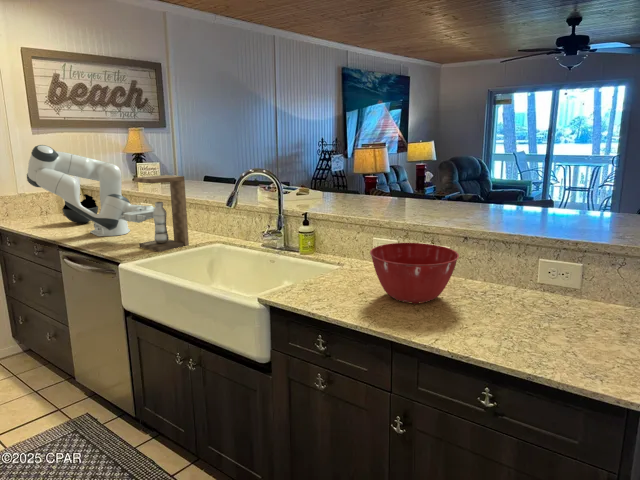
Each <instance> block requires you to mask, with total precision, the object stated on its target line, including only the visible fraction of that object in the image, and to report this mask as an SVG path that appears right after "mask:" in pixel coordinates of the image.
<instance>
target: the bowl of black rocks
mask: <svg viewBox="0 0 640 480" xmlns="http://www.w3.org/2000/svg"><path fill="white" fill-rule="evenodd" d="M81 195H82V193H80V196H81ZM83 197H84V198H85V199H82V200H80V203H81V205H82V206H83V207H85V208H87V209H88V210H90V211H92V212H93V213H95V214H98V213H99V206H98V205H97V203H96V200H95V199H94V197H93V196H91V195H88V194H86V193H84V194H83ZM62 213H63V214H64V216H65V217H66V218H67V220H69V221H71V222H72V223H74V224H86V223H90V222H92V221H91V220H89V219H87V218H86V217H84V216H82V215H80V214H79V213H77V212H75V211H74V210H72V209H71V208H69V207H68V206H67V205H66V204H65V203H64V205H63V208H62Z"/></svg>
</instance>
